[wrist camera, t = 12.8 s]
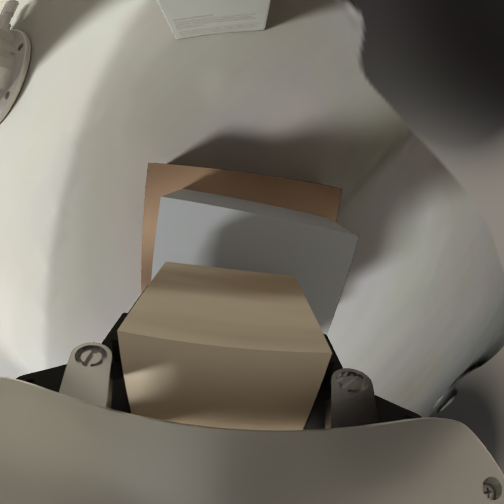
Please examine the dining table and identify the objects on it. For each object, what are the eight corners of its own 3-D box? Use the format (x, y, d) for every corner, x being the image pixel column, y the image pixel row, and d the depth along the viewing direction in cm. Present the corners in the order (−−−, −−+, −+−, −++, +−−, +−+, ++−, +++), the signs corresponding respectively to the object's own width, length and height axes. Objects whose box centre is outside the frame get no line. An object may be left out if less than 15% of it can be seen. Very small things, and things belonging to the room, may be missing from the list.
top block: (182, 188, 16) (161, 196, 12) (327, 217, 17) (359, 236, 12) (166, 319, 19) (147, 363, 14) (291, 340, 20) (305, 386, 15)
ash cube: (166, 261, 11) (116, 330, 6) (294, 275, 11) (332, 352, 6) (166, 363, 12) (140, 448, 7) (273, 374, 12) (287, 461, 8)
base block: (168, 163, 21) (148, 163, 16) (320, 184, 22) (342, 188, 17) (159, 304, 24) (143, 334, 19) (293, 320, 25) (304, 352, 20)
